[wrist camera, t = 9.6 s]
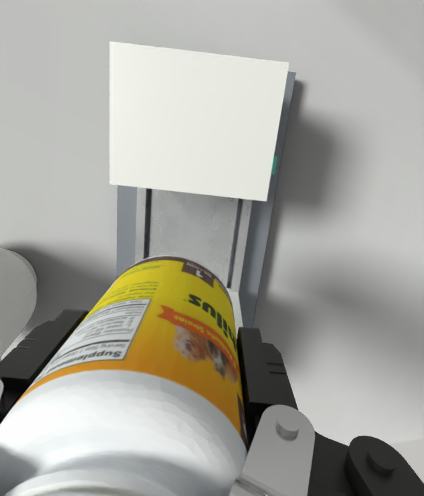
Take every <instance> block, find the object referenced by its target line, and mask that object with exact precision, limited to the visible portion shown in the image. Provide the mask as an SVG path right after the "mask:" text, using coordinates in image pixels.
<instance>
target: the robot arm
mask: <svg viewBox="0 0 424 496" xmlns="http://www.w3.org/2000/svg"><path fill="white" fill-rule="evenodd" d="M88 313H89V312H88V311H84V310H74V309H66V310H64V311H63V312H62V314H61V315H60V316H59V317H58V318H57V319H56V320H55V321H48V322H46V323H44V324H42V325H40V326H38V327H36V328H35V329H34V330H33V331H32V332H31V333H30V334H29V335H27V336H26V337H25V340H22V341H21V342H20V343H19V344H18V345H17V347H16V348H14V349H13V350H12V351H11V352H10V353H9V354H8V355H7V356H6V357H5V358H4V359H3V360H2V361H1V362H0V424H1V423H2V421H3V420H4V418H5V417H6V416H7V414H8V413H9V411H10V410H11V409H12V408H13V406H14V405H15V404H16V402H17V401H18V400H19V399H20V397H21V396H22V395H23V394H24V393H25V391H26V390H27V389H28V388H29V387H30V385H31V384H32V383H33V382H34V380H35V379H36V378H37V376H38V375H39V374H40V373H41V372H42V370H43V369H44V368H45V367H46V365H47V364H48V363H49V362H50V360H51V359H52V358H53V357H54V356H55V354H56V353H57V352H58V351H59V349H60V348H61V347H62V346H63V345H64V343H65V342H66V341H67V340H68V338H69V337H70V336H71V335H72V333H73V332H74V331H75V329H76V328H77V327H78V326H79V325H80V323H81V322H82V321H83V320H84V319H85V317H86V316H87V315H88ZM237 348H238V357H239V367H240V375H241V384H242V395H243V404H244V413H245V421H246V432H247V441H248V449H249V452H248V455H247V458H246V461H245V464H244V467H243V470H242V472H241V474H240V477H239V479H238V478H236V480H235V482H234V484H233V486H232V489H231V491H230V494H229V496H424V483H423V482H422V481H421V480H420V478H419V477H418V476H417V475H416V473H415V472H414V471H413V469H412V468H411V467H410V465H409V464H408V463H407V461H406V460H405V459H404V458H403V457H402V456H401V454H399V453H398V452H397V451H396V450H395V449H394V448H393V447H391V446H390V445H388V444H387V443H385V442H383V441H381V440H379V439H377V438H374V437H370V436H358V437H356V438H354V439H353V440H352V441H351V443H350V445H349V446H347V445H344V444H341V443H339V442H336V441H334V440H331V439H328V438H326V437H324V436H322V435H320V434H318V433H317V432H315V431H314V428H313V426H312V424H311V422H310V421H309V420H308V418H307V417H306V416H305V415H304V414H302V413H301V412H300V411H298V408H297V404H296V401H295V398H294V395H293V392H292V388H291V385H290V382H289V379H288V376H287V372H286V369H285V366H284V363H283V360H282V357H281V353H280V352H279V351H278V350H277V349H276V348H275V347H274V345H273V344H269V343H262V340H261V335H260V331H259V329H256V328H247V327H239V328H238V333H237Z"/></svg>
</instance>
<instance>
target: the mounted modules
mask: <svg viewBox="0 0 424 496" xmlns="http://www.w3.org/2000/svg"><path fill="white" fill-rule="evenodd" d="M288 67H289V63H288V62H279V61H271V60H263V59H254V58H246V57H237V56H229V55H220V54H212V53H204V52H195V51H187V50H178V49H170V48H161V47H153V46H144V45H136V44H128V43H119V42H111V41H110V184H114V185H123V186H132V187H141V188H150V189H159V190H168V191H177V192H186V193H195V194H204V195H213V196H222V197H231V198H240V199H249V200H258V201H267V195H268V189H269V183H270V177H271V174H273V175H275V169H276V163H277V156H275V151H276V145H277V139H278V133H279V127H280V121H281V115H282V109H283V103H284V101H283V98H284V91H285V85H286V79H287V73H288ZM226 289H227V291H228V293H229V295H230V298H231V301H232V305H233V312H234V319H235V328H236V338H237V333H238V328H239V327H243V323H242V316H241V309H240V302H239V295H238V292H231V290H230V288H226Z"/></svg>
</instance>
